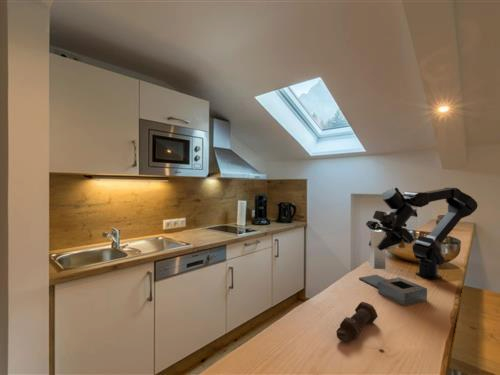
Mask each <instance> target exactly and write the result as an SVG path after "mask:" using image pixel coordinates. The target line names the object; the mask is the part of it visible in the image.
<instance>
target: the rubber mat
mask: <svg viewBox="0 0 500 375" xmlns="http://www.w3.org/2000/svg"><path fill="white" fill-rule="evenodd" d="M387 279H388V278H385V277H383V276H380V275H378V274H372V275H367V276H360V277H359V278H358V280H359V281H362V282H364V283H365V284H367V285H370V286H371V287H374V288H376V289H378V281H382V280H387Z"/></svg>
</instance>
